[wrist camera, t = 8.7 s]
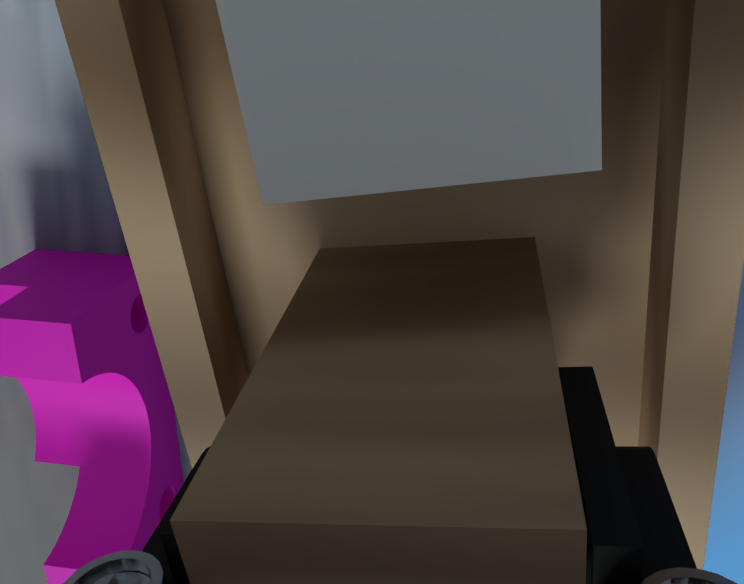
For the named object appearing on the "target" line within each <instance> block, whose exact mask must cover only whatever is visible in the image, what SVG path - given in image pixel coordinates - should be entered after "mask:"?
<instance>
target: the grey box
mask: <svg viewBox="0 0 744 584" xmlns="http://www.w3.org/2000/svg"><path fill="white" fill-rule="evenodd" d="M215 1H216V5H217V9H218V14H219V18H220V22H221V27H222V31H223V35H224V40H225V44H226V48H227V52H228V57H229V61H230V65H231V70H232V74H233V78H234V83H235V87H236V91H237V96H238V100H239V104H240V109H241V113H242V117H243V122H244V126H245V130H246V134H247V139H248V143H249V147H250V152H251V156H252V160H253V165H254V169H255V173H256V178H257V182H258V186H259V191H260V195H261V199H262V204H263V205H269V204H278V203H288V202H298V201H307V200H317V199H327V198H337V197H346V196H356V195H366V194H375V193H385V192H395V191H404V190H414V189H424V188H434V187H443V186H453V185H463V184H472V183H482V182H492V181H501V180H511V179H521V178H531V177H540V176H550V175H560V174H569V173H579V172H589V171H599V170H602V130H601V10H600V0H215Z"/></svg>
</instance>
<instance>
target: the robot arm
mask: <svg viewBox="0 0 744 584" xmlns="http://www.w3.org/2000/svg"><path fill="white" fill-rule="evenodd" d="M558 370H559V376H560V381H561V387H562V393H563V398H564V404H565V409H566V415H567V421H568V426H569V432H570V437H571V443H572V448H573V454H574V460H575V465H576V471H577V476H578V482H579V488H580V493H581V499H582V504H583V510H584V516H585V521H586V527H587V551H586V584H737V583H735V582H733V581H731V580H729V579H727V578H725V577H723V576H721V575H719V574H716V573H712V572H708V571H705V570H701V569H697V567H696V564H695V561H694V559H693V556H692V553H691V551H690V548H689V545H688V542H687V540H686V537H685V534H684V532H683V529H682V526H681V523H680V521H679V518H678V515H677V512H676V510H675V507H674V504H673V502H672V499H671V496H670V493H669V491H668V488H667V485H666V483H665V480H664V477H663V474H662V472H661V469H660V466H659V463H658V461H657V458H656V455H655V453H654V451H653V449H652V448H651V447H649V446H615V442H614V439H613V435H612V432H611V429H610V425H609V422H608V418H607V415H606V411H605V408H604V404H603V401H602V397H601V394H600V390H599V387H598V383H597V380H596V376H595V373H594V369H593V367H592V366H587V367H558ZM210 447H211V446H210ZM210 447H208V448H206V449H205V450H204V452H203V453H202V454H201V456H200V457H199V459H198V461H197V462H196V464H195V466H194V467H193V469H192V470H191V472H190V474H189V475H188V477H187V479H186V480H185V482H184V483H183V485H182V487H181V488H180V490H179V492H178V493H177V495H176V497H175V498H174V500H173V501H172V503H171V505H170V506H169V508H168V510H167V511H166V513H165V514H164V516H163V518H162V519H161V521H160V523H159V524H158V526H157V527H156V529H155V531H154V532H153V534H152V536H151V537H150V539H149V540H148V542H147V544H146V545H145V547H144V549H143V550H142V551H139V550H124V551H119V552H115V553H110V554H107V555H104V556H102V557H100V558H97V559H95V560H93V561H91V562H89V563H88V564H86V565H84V566H83V567H81V568H80V569H78V570H77V571H75V572H74V573H73V574H72V575H71V576H70V577H69V578H68V579H67V580H66V581H65V582H64V583H63V584H190V582H189V578H188V575H187V572H186V569H185V566H184V563H183V560H182V557H181V554H180V551H179V548H178V545H177V542H176V539H175V535H174V532H173V529H172V526H171V523H170V519H171V517H172V515H173V514H174V512H175V510H176V508H177V506H178V505H179V503H180V501H181V499H182V497H183V496H184V494H185V492H186V490H187V488H188V486H189V485H190V483H191V481H192V479H193V477H194V476H195V474H196V472H197V470H198V468H199V466H200V465H201V463H202V461H203V459H204V457H205V456H206V454H207V452H208V450H209V448H210Z"/></svg>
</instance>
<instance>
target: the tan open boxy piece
mask: <svg viewBox="0 0 744 584" xmlns="http://www.w3.org/2000/svg"><path fill="white" fill-rule="evenodd" d="M55 3H56V6H57V10H58V13H59V17H60V20H61V23H62V27H63V30H64V34H65V37H66V40H67V44H68V47H69V51H70V54H71V57H72V61H73V64H74V68H75V71H76V74H77V78H78V81H79V85H80V88H81V91H82V95H83V98H84V102H85V105H86V109H87V112H88V115H89V119H90V122H91V126H92V129H93V132H94V136H95V139H96V143H97V146H98V149H99V153H100V156H101V160H102V163H103V166H104V170H105V173H106V177H107V180H108V183H109V187H110V190H111V194H112V197H113V200H114V204H115V207H116V211H117V214H118V217H119V221H120V224H121V228H122V231H123V235H124V238H125V241H126V245H127V248H128V252H129V255H130V258H131V262H132V265H133V269H134V272H135V275H136V279H137V282H138V286H139V289H140V292H141V296H142V299H143V303H144V306H145V309H146V313H147V316H148V320H149V323H150V326H151V330H152V333H153V337H154V340H155V343H156V347H157V350H158V354H159V357H160V360H161V364H162V367H163V371H164V374H165V378H166V381H167V384H168V388H169V391H170V395H171V398H172V401H173V405H174V408H175V412H176V415H177V418H178V422H179V425H180V429H181V432H182V435H183V439H184V442H185V446H186V449H187V452H188V456H189V459H190V463H191V466H192V469H193V467H194V466H195V464H196V462H197V461H198V459H199V457H200V456H201V454H202V453H203V452H204V450H205V449H206V448H208V447H210V446H211V447H210V448H209V450H208V452H207V454H206V456H205V457H204V459H203V461H202V463H201V465H200V466H199V468H198V470H197V472H196V474H195V476H194V477H193V479H192V481H191V483H190V485H189V486H188V488H187V490H186V492H185V494H184V496H183V497H182V499H181V501H180V503H179V505H178V506H177V508H176V510H175V512H174V514H173V515H172V517H171V519H170V523H171V526H172V529H173V532H174V535H175V539H176V542H177V545H178V548H179V551H180V554H181V557H182V560H183V563H184V566H185V569H186V572H187V575H188V578H189V582H190V584H586V551H587V527H586V521H585V516H584V510H583V504H582V499H581V493H580V488H579V482H578V476H577V471H576V465H575V460H574V454H573V448H572V443H571V437H570V432H569V426H568V421H567V415H566V409H565V404H564V398H563V393H562V387H561V381H560V376H559V370H558V367H587V366H592V367H593V369H594V373H595V376H596V380H597V383H598V387H599V390H600V394H601V397H602V401H603V404H604V408H605V411H606V415H607V418H608V422H609V425H610V429H611V432H612V435H613V439H614V442H615V446H649V447H651V448H652V449H653V451H654V453H655V455H656V458H657V461H658V463H659V466H660V469H661V472H662V474H663V477H664V480H665V483H666V485H667V488H668V491H669V493H670V496H671V499H672V502H673V504H674V507H675V510H676V512H677V515H678V518H679V521H680V523H681V526H682V529H683V532H684V534H685V537H686V540H687V542H688V545H689V548H690V551H691V553H692V556H693V559H694V561H695V564H696V567H697V569H701V570H703V566H704V559H705V550H706V543H707V536H708V527H709V520H710V512H711V504H712V497H713V488H714V481H715V473H716V467H717V459H718V451H719V444H720V436H721V428H722V420H723V413H724V404H725V397H726V390H727V381H728V374H729V367H730V359H731V350H732V344H733V336H734V328H735V321H736V312H737V305H738V298H739V290H740V282H741V275H742V267H743V259H744V0H600V10H601V130H602V170H599V171H589V172H579V173H569V174H560V175H550V176H540V177H531V178H521V179H511V180H501V181H492V182H482V183H472V184H463V185H453V186H443V187H434V188H424V189H414V190H404V191H395V192H385V193H375V194H366V195H356V196H346V197H337V198H327V199H317V200H307V201H298V202H288V203H278V204H269V205H263V204H262V199H261V195H260V191H259V186H258V182H257V178H256V173H255V169H254V165H253V160H252V156H251V152H250V147H249V143H248V139H247V134H246V130H245V126H244V122H243V117H242V113H241V109H240V104H239V100H238V96H237V91H236V87H235V83H234V78H233V74H232V70H231V65H230V61H229V57H228V52H227V48H226V44H225V40H224V35H223V31H222V27H221V22H220V18H219V14H218V9H217V5H216V1H215V0H55Z"/></svg>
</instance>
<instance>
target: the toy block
mask: <svg viewBox="0 0 744 584" xmlns="http://www.w3.org/2000/svg"><path fill="white" fill-rule="evenodd" d="M0 376H8V377H16V378H17V380H18V381H19V382H20V383H21V385H22V386H23V388H24V390H25V392H26V394H27V396H28V398H29V401H30V404H31V407H32V411H33V415H34V421H35V430H36V452H35V461H39V462H48V463H57V464H65V465H74V466H80V470H79V477H78V482H77V487H76V491H75V495H74V499H73V503H72V506H71V509H70V512H69V515H68V518H67V520H66V523H65V525H64V528H63V530H62V532H61V535H60V537H59V539H58V541H57V543H56V545H55V547H54V548H53V550H52V552H51V554H50V555H49V557H48V559H47V560H46V562H45V563H44V569H45V573H46V577H47V581H48V584H63V583H64V582H65V581H66V580H67V579H68V578H69V577H70V576H71V575H72V574H73V573H74V572H75V571H77V570H78V569H80V568H81V567H83V566H84V565H86V564H88V563H89V562H91V561H93V560H95V559H97V558H100V557H102V556H104V555H107V554H110V553H115V552H119V551H124V550H139V551H142V550H143V549H144V547H145V545H146V544H147V542H148V540H149V539H150V537H151V536H152V534H153V532H154V531H155V529H156V527H157V526H158V524H159V523H160V521H161V519H162V518H163V516H164V514H165V513H166V511H167V510H168V508H169V506H170V505H171V503H172V501H173V500H174V498H175V497H176V495H177V493H178V492H179V490H180V488H181V487H182V485H183V475H182V467H181V459H180V451H179V444H178V436H177V428H176V420H175V412H174V405H173V401H172V398H171V395H170V391H169V388H168V384H167V381H166V378H165V374H164V371H163V367H162V364H161V360H160V357H159V354H158V350H157V347H156V343H155V340H154V337H153V333H152V330H151V326H150V323H149V320H148V316H147V313H146V309H145V306H144V303H143V299H142V296H141V292H140V289H139V286H138V282H137V279H136V275H135V272H134V269H133V265H132V262H131V258H130V256H128V255H113V254H98V253H83V252H68V251H53V250H38V249H35V250H33V251H32V252H30V253H28V254H26V255H24V256H23V257H21V258H19V259H17V260H16V261H14V262H12V263H10V264H9V265H7V266H5V267H3V268H1V269H0Z"/></svg>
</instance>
